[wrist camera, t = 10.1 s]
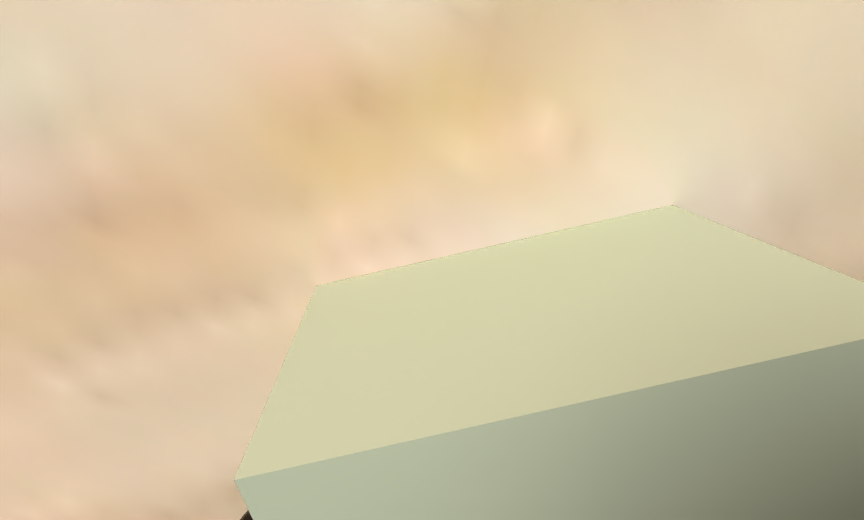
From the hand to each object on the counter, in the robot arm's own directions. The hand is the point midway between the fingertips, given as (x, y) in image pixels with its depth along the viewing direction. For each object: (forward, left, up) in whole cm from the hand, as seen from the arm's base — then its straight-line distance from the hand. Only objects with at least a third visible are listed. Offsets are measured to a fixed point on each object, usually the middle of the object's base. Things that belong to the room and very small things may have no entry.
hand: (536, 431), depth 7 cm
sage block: (0, 0, -1) cm, 1 cm away
